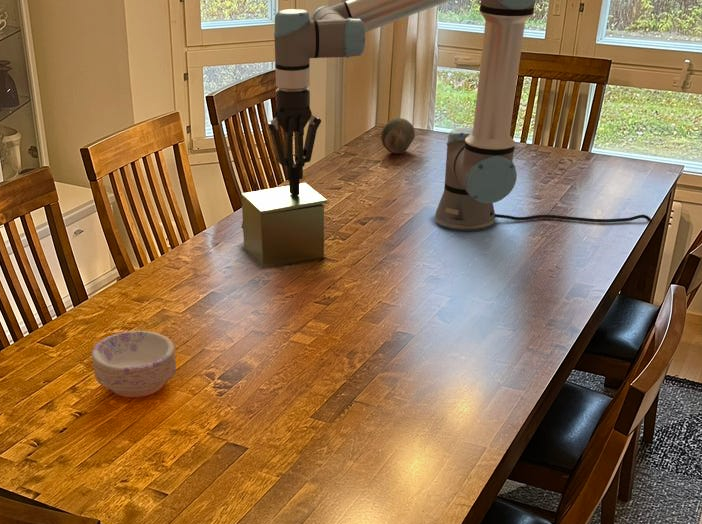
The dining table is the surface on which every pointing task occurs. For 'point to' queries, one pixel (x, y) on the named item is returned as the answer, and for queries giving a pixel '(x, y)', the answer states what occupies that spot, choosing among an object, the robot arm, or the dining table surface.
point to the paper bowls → (134, 362)
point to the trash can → (284, 235)
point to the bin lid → (283, 199)
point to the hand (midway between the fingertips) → (294, 193)
